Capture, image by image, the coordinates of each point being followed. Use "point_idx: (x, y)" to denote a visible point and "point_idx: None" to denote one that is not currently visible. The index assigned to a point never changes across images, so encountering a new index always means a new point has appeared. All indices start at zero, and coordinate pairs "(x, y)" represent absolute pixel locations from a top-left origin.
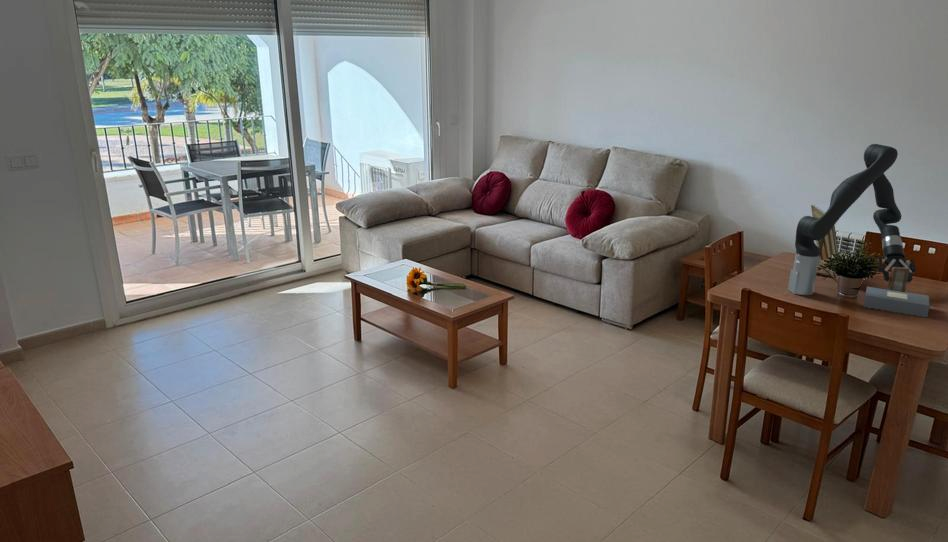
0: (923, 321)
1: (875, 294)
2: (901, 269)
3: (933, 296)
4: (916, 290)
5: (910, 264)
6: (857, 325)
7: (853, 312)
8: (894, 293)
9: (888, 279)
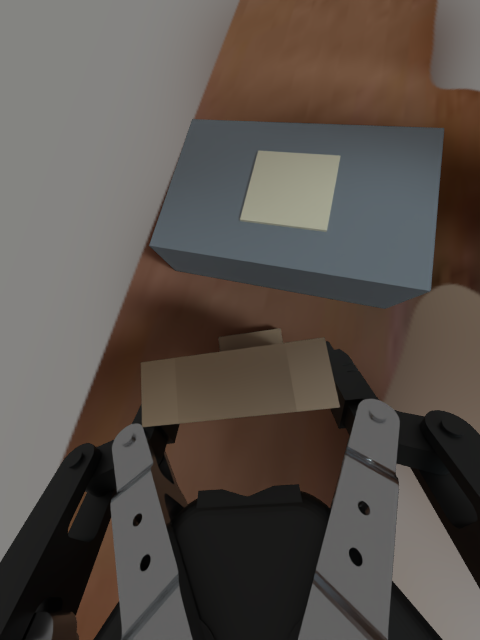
0: None
1: (392, 165)
2: (232, 351)
3: (96, 430)
4: None
5: (39, 613)
6: (428, 18)
7: (439, 116)
8: (297, 208)
9: None
